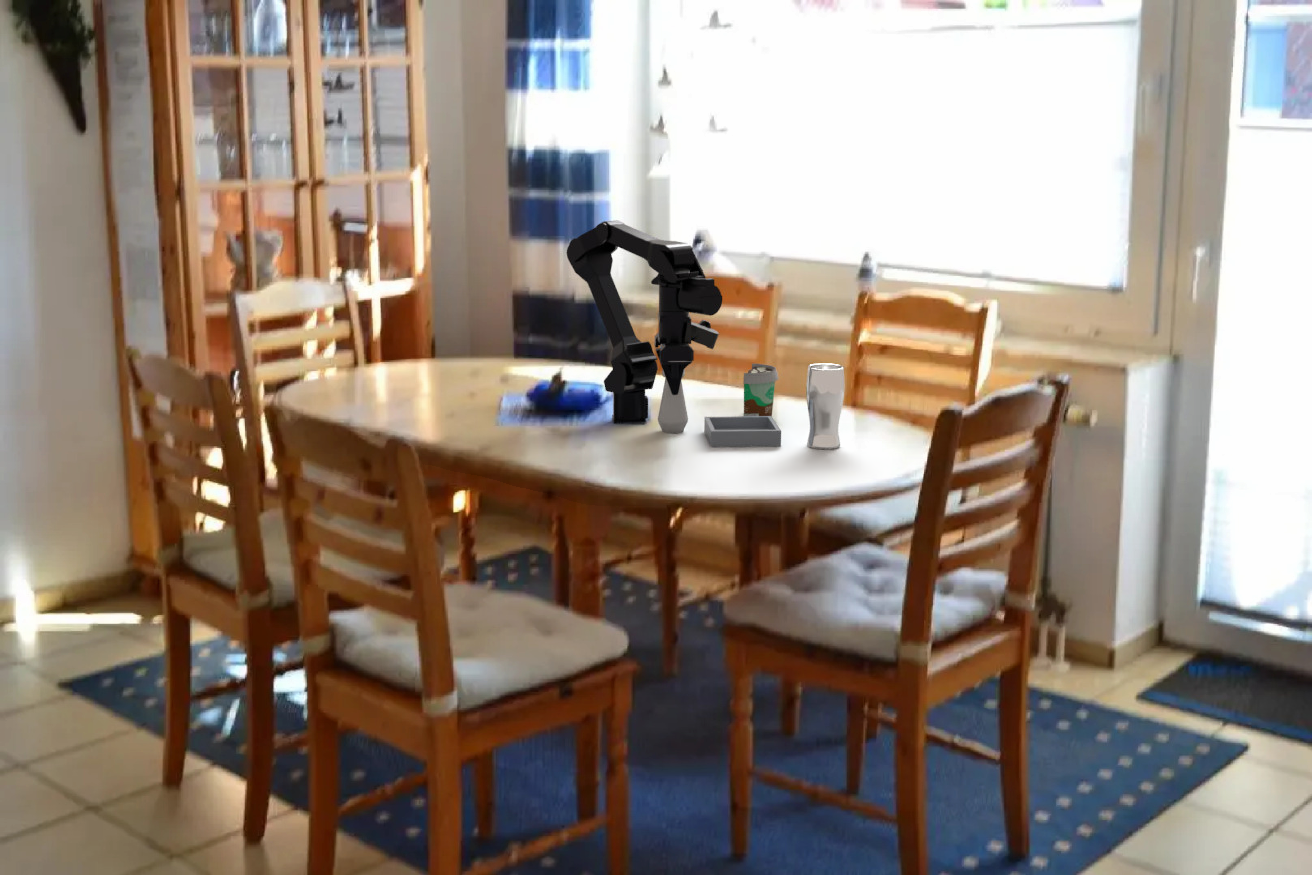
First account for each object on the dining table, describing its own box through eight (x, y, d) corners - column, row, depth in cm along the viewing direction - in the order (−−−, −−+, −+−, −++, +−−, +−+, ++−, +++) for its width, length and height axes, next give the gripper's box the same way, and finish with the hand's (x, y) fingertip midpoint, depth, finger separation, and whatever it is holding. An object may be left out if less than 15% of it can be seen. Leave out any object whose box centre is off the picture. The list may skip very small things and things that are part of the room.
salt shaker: (666, 435, 299) (666, 368, 296) (652, 429, 304) (652, 363, 301) (693, 432, 302) (693, 366, 299) (679, 426, 307) (679, 361, 304)
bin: (711, 447, 289) (711, 431, 289) (704, 431, 302) (704, 416, 301) (780, 446, 290) (781, 430, 290) (771, 431, 303) (771, 416, 302)
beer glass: (832, 452, 286) (834, 371, 283) (798, 447, 290) (800, 367, 286) (848, 444, 292) (851, 365, 289) (815, 440, 296) (817, 362, 292)
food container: (773, 424, 309) (774, 374, 307) (742, 423, 310) (743, 373, 308) (781, 412, 321) (782, 364, 319) (751, 410, 322) (752, 362, 320)
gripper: (721, 316, 289) (720, 399, 292) (711, 303, 307) (710, 381, 311) (661, 317, 288) (660, 400, 292) (654, 303, 306) (654, 381, 310)
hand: (673, 390), depth 301 cm, fingers open, 8 cm apart
